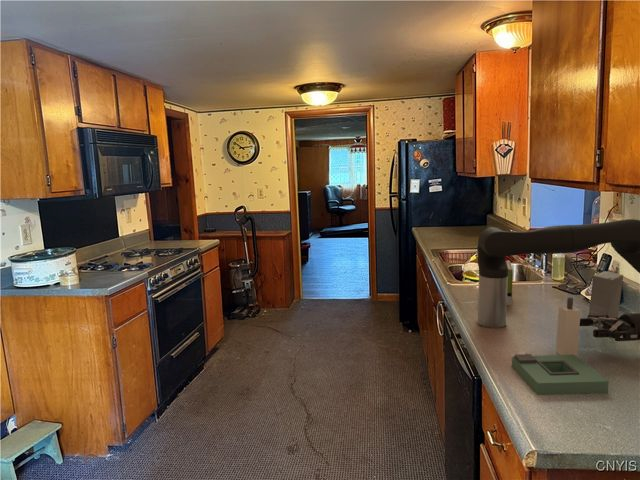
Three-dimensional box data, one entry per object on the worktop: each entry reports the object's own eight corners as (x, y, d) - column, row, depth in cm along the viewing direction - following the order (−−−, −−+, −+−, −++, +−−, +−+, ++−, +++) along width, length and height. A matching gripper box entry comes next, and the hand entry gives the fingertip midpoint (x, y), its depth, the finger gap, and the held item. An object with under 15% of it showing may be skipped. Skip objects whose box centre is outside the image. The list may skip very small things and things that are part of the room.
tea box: (484, 293, 189) (485, 258, 187) (509, 294, 186) (511, 260, 183) (484, 304, 176) (485, 267, 173) (512, 306, 172) (513, 268, 170)
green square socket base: (511, 366, 123) (512, 353, 123) (573, 364, 123) (574, 351, 123) (537, 394, 109) (538, 380, 108) (607, 392, 109) (609, 378, 108)
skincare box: (599, 312, 162) (602, 270, 159) (620, 318, 156) (624, 274, 153) (586, 317, 158) (590, 274, 155) (608, 323, 152) (612, 278, 149)
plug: (555, 351, 132) (559, 296, 129) (569, 351, 132) (573, 295, 129) (563, 357, 128) (567, 300, 125) (577, 357, 128) (581, 300, 125)
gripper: (626, 305, 134) (572, 307, 135) (662, 322, 120) (601, 324, 121) (624, 329, 136) (570, 330, 136) (659, 349, 122) (599, 350, 122)
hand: (585, 327), depth 128 cm, fingers open, 8 cm apart
